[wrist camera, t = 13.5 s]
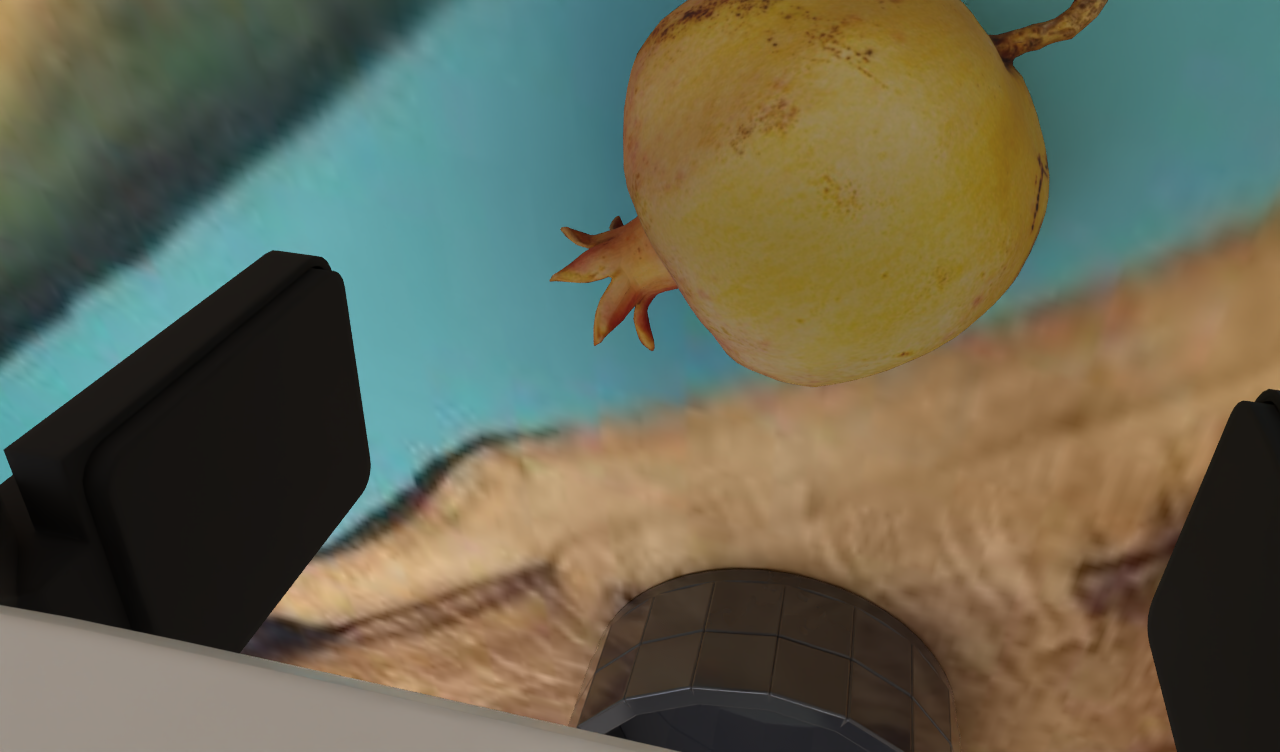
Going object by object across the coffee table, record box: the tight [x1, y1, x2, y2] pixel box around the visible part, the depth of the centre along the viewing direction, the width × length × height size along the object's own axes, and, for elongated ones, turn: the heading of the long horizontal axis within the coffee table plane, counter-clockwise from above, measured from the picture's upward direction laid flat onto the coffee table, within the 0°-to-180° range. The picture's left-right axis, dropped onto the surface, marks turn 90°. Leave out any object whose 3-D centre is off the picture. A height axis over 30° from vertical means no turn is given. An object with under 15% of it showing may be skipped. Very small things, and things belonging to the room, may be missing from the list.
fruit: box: [550, 0, 1108, 387], centre depth 16 cm, size 7×7×10 cm
